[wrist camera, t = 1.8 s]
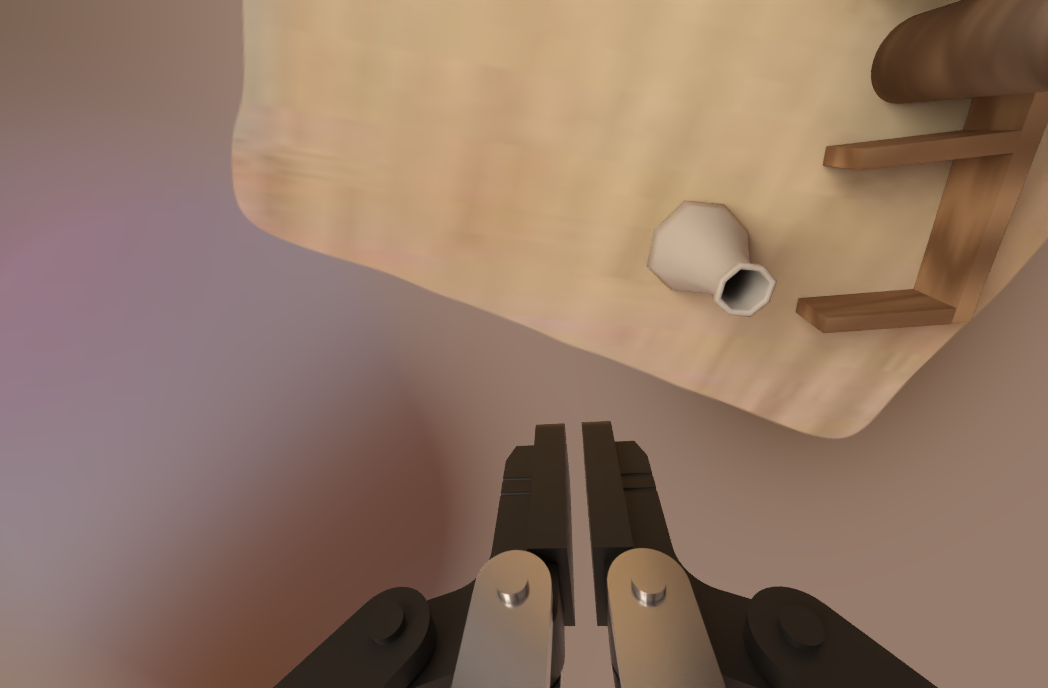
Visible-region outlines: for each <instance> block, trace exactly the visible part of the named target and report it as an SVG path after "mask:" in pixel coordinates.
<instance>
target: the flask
mask: <svg viewBox="0 0 1048 688" xmlns="http://www.w3.org/2000/svg"><path fill="white" fill-rule="evenodd" d="M647 267H648V268H649V269H650V270H651V271H652V272H653V273H654V274H655V275H656V276H657V277H658V278H659V279H660V280H661V281H662V282H663V283H664V284H665V285H666V286H668V287H669V288H670V289H671V290H679V291H690V292H701V293H709V294H711V295H713V296H714V297H713V299H714V301H715V302H716V303H717V304H718V305H719V306H720V307H721V308H722V309H723V310H724V311H725V312H726V313H727V314H729V315H737V316H748V317H751V316H752V315H753V314H755V313H756V312H757V311H759V310H760V309H761V308H762V307H764V306H765V305H766V304H767V303H769V302H770V299H771V296H772V294H773V291H774V288H775V285H776V283H777V280H776V279H775V278H774V277H773V276H772V275H771V274H770V273H769V272H768V271H767V270H766V268H765V267H764V266H763V265H760V264H751V263H750V258H749V250H748V231H747V229H746V228H745V227H744V226H743V225H742V224H741V223H740V222H739V221H738V220H737V219H736V217H735V216H734V215H733V214H732V213H731V212H730V211H729V210H728V209H727V208H726V207H725V205H724V204H714V203H702V202H690V201H684V202H683V203H682V204H681V205H680V206H679V207H678V208H677V209H676V210H675V211H674V212H673V213H672V214H671V215H670V216H669V217H668V218H666V219H665V220H664V221H663V222H662V223H661V224H660V225H659V226H658V227H657V228H656V229H655V230H654V235H653V240H652V244H651V249H650V254H649V259H648V263H647Z"/></svg>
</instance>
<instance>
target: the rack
mask: <svg viewBox="0 0 1048 688" xmlns="http://www.w3.org/2000/svg"><path fill="white" fill-rule="evenodd" d="M1047 122H1048V92H1035V93H1023V94H1011V95H998V96H986V97H974V98H973V100H972V103H971V106H970V109H969V113H968V116H967V119H966V122H965V125H964V129H963V130H962V131H954V132H945V133H937V134H928V135H920V136H912V137H903V138H895V139H886V140H878V141H869V142H861V143H853V144H844V145H836V146H827V147H826V151H825V156H824V161H823V165H824V166H832V167H840V168H847V169H855V170H864V169H873V168H882V167H891V166H900V165H909V164H918V163H927V162H936V161H944V160H953V159H954V161H953V164H952V167H951V171H950V174H949V177H948V180H947V184H946V187H945V190H944V193H943V197H942V200H941V203H940V206H939V209H938V213H937V216H936V219H935V222H934V226H933V229H932V232H931V235H930V238H929V242H928V245H927V248H926V251H925V255H924V258H923V261H922V264H921V268H920V271H919V274H918V277H917V280H916V284H915V287H914V289H911V290H899V291H886V292H874V293H861V294H849V295H836V296H824V297H811V298H799V299H798V303H797V309H796V313H798V314H799V315H800V316H801V317H803V318H804V319H805V320H807V321H808V322H809V323H811V324H812V325H813V326H815V327H816V328H817V329H819V330H820V331H821V332H823V333H831V332H846V331H860V330H874V329H888V328H902V327H916V326H930V325H944V324H958V323H970V321H971V319H972V316H973V313H974V311H975V308H976V306H977V303H978V301H979V298H980V295H981V293H982V290H983V288H984V285H985V282H986V280H987V277H988V275H989V272H990V269H991V267H992V264H993V262H994V259H995V257H996V254H997V251H998V249H999V246H1000V244H1001V241H1002V238H1003V236H1004V233H1005V231H1006V228H1007V226H1008V223H1009V220H1010V218H1011V215H1012V213H1013V210H1014V207H1015V205H1016V202H1017V200H1018V197H1019V194H1020V192H1021V189H1022V187H1023V184H1024V182H1025V179H1026V176H1027V174H1028V171H1029V169H1030V166H1031V163H1032V161H1033V158H1034V156H1035V153H1036V151H1037V148H1038V145H1039V143H1040V140H1041V138H1042V135H1043V132H1044V130H1045V127H1046V125H1047Z"/></svg>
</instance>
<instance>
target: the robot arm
mask: <svg viewBox="0 0 1048 688" xmlns="http://www.w3.org/2000/svg"><path fill="white" fill-rule="evenodd" d="M582 435H583V449H584V464H585V478H586V491H587V503H588V516H589V528H590V540H591V553H592V565H593V578H594V589H595V601H596V614H597V625H598V626H608V634H609V643H610V654H611V670H612V671H611V672H612V680H613V687H614V688H937V687H936V686H935V685H933V684H932V683H931V682H929V681H928V680H927V679H925V678H924V677H923V676H921V675H920V674H919V673H917V672H916V671H914V670H913V669H912V668H910V667H909V666H908V665H906V664H905V663H903V662H902V661H901V660H900V659H898V658H897V657H895V656H894V655H893V654H892V653H890V652H889V651H888V650H886V649H885V648H883V647H882V646H881V645H879V644H878V643H877V642H875V641H874V640H873V639H871V638H870V637H869V636H867V635H866V634H865V633H863V632H862V631H860V630H859V629H858V628H856V627H855V626H854V625H852V624H851V623H850V622H848V621H847V620H846V619H844V618H843V617H842V616H840V615H839V614H838V613H836V612H835V611H833V610H832V609H831V608H829V607H828V606H827V605H825V604H824V603H822V602H821V601H819V600H818V599H816V598H815V597H813V596H811V595H809V594H807V593H805V592H802V591H799V590H797V589H793V588H789V587H770V588H766V589H763V590H761V591H759V592H758V593H757V594H755V595H754V597H753V598H752V599H749V598H745V597H742V596H739V595H735V594H732V593H729V592H725V591H722V590H718V589H716V588H713V587H710V586H709V585H706V584H704V583H703V582H701V581H700V580H698V579H697V578H695V577H694V576H693V575H691V574H690V573H689V572H688V571H687V570H686V569H685V568H684V567H683V566H682V564H681V563H680V562H679V560H678V558H677V557H676V555H675V553H674V550H673V547H672V543H671V540H670V536H669V533H668V529H667V525H666V522H665V518H664V514H663V511H662V508H661V504H660V500H659V497H658V493H657V491H656V486H655V482H654V478H653V476H652V471H651V467H650V464H649V460H648V457H647V455H646V453H645V452H644V451H643V450H642V449H641V448H640V447H639V446H638V444H637V443H636V442H635V441H622V442H621V441H620V442H615V441H614V436H613V431H612V425H611V422H610V421H601V422H582ZM534 443H535V444H534V446H516V448H515V449H514V450H513V452H512V453H511V455H510V456H509V457H508V459H507V460H506V464H505V470H504V476H503V483H502V490H501V497H500V502H499V508H498V515H497V522H496V528H495V534H494V541H493V547H492V553H491V557H490V559H489V561H488V562H487V563H486V564H485V565H484V566H483V567H482V569H481V570H480V572H479V574H478V576H477V578H476V579H475V580H474V581H472V582H471V583H469V584H468V585H467V586H465V587H463V588H461V589H458V590H456V591H454V592H451V593H448V594H445V595H442V596H439V597H436V598H433V599H430V600H427V601H426V599H425V598H424V596H423V595H422V594H421V593H420V592H418V591H417V590H415V589H412V588H408V587H396V588H392V589H388V590H385V591H383V592H381V593H379V594H378V595H376V596H374V597H373V598H372V599H370V600H369V601H368V602H367V603H366V604H364V605H363V606H362V607H361V608H360V609H359V610H358V611H357V612H356V613H355V614H354V615H352V616H351V617H350V618H349V619H348V620H347V621H346V622H345V623H344V624H343V625H342V626H341V627H339V628H338V629H337V630H336V631H335V632H334V633H333V634H332V635H330V636H329V637H328V638H327V639H326V640H325V641H324V642H323V643H322V644H321V645H319V646H318V647H317V648H316V649H315V650H314V651H313V652H312V653H311V654H310V655H308V656H307V657H306V658H305V659H304V660H303V661H302V662H301V663H300V664H299V665H298V666H296V667H295V668H294V669H293V670H292V671H291V672H290V673H289V674H288V675H287V676H285V677H284V678H283V679H282V680H281V681H280V682H279V683H278V684H277V685H276V686H274V687H273V688H563V665H564V658H565V646H564V644H565V642H564V626H575V608H574V580H573V552H572V525H571V499H570V498H571V496H570V478H569V466H568V455H567V444H566V433H565V424H544V425H536V429H535V442H534Z"/></svg>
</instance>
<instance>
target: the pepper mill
mask: <svg viewBox="0 0 1048 688" xmlns="http://www.w3.org/2000/svg"><path fill="white" fill-rule="evenodd" d="M871 80H872V85H873V88H874V90H875V92H876V93H877V95H878V96H879V97H880V98H882V99H883V100H885V101H887V102H890V103H897V104H898V103H912V102H924V101H936V100H949V99H961V98H974V97H986V96H998V95H1011V94H1023V93H1035V92H1048V0H961V1H958V2H955V3H952V4H949V5H946V6H943V7H940V8H937V9H933V10H930V11H927V12H924V13H921V14H918V15H915V16H913V17H911V18H909V19H907V20H905V21H904V22H902V23H901V24H899V25H898V26H897V27H896V28H894V29H893V30H892V31H891V32H890V33H889V35H888V36H887V37H886V38H885V39H884V41H883V42H882V44H881V45H880V47H879V49H878V51H877V53H876V55H875V58H874V60H873V64H872V70H871Z"/></svg>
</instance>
